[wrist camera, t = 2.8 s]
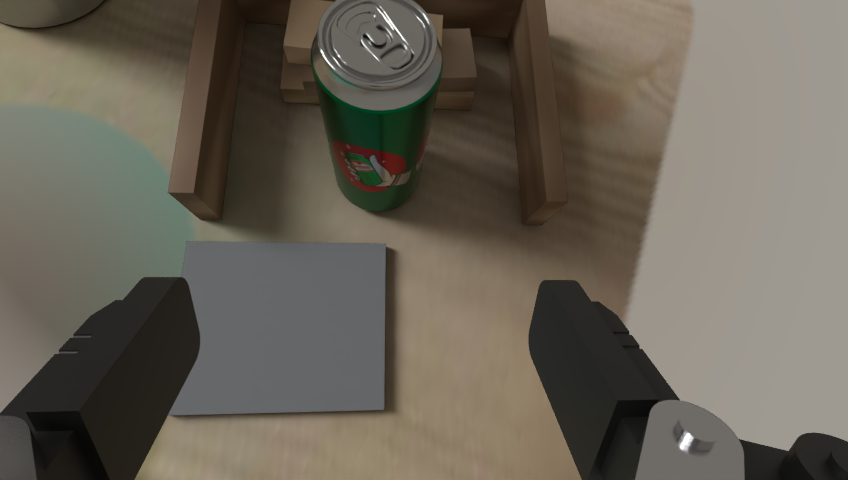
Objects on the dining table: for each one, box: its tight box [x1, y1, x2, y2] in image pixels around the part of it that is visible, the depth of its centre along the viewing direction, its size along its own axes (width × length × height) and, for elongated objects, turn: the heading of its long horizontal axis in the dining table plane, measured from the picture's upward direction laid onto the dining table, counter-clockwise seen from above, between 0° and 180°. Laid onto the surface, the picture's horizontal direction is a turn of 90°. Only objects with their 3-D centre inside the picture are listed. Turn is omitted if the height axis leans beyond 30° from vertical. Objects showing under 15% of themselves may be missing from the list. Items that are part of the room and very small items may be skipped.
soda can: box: [310, 0, 443, 211], centre depth 21 cm, size 5×5×12 cm
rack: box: [168, 0, 568, 225], centre depth 27 cm, size 20×15×4 cm
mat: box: [168, 241, 386, 415], centre depth 24 cm, size 11×9×1 cm
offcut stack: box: [280, 0, 477, 110], centre depth 27 cm, size 12×5×4 cm, turn 91°
